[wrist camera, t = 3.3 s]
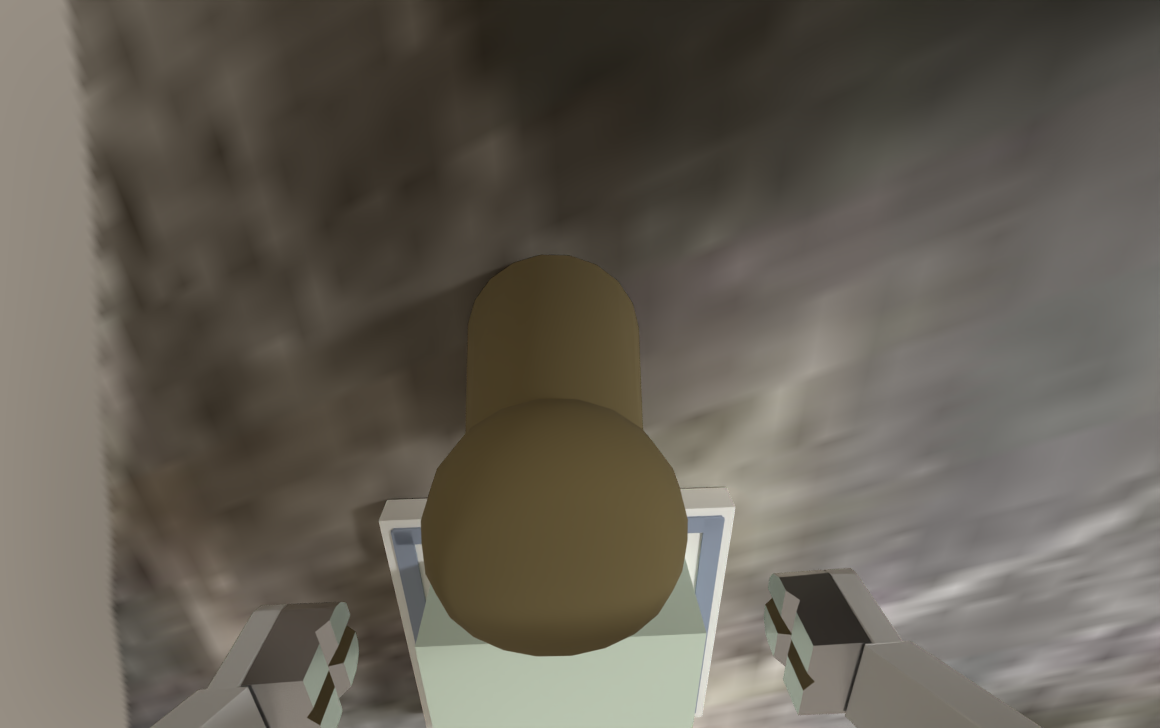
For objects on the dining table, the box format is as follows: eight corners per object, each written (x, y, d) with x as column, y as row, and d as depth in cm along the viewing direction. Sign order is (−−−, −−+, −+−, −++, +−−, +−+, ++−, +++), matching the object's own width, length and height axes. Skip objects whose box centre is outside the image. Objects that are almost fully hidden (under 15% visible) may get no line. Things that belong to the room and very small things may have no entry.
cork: (632, 242, 18) (733, 432, 8) (644, 400, 20) (730, 686, 11) (449, 266, 18) (323, 483, 8) (486, 420, 20) (426, 723, 11)
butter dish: (387, 499, 22) (343, 609, 17) (726, 487, 22) (772, 590, 18) (432, 707, 28) (408, 828, 24) (696, 693, 29) (724, 808, 24)
